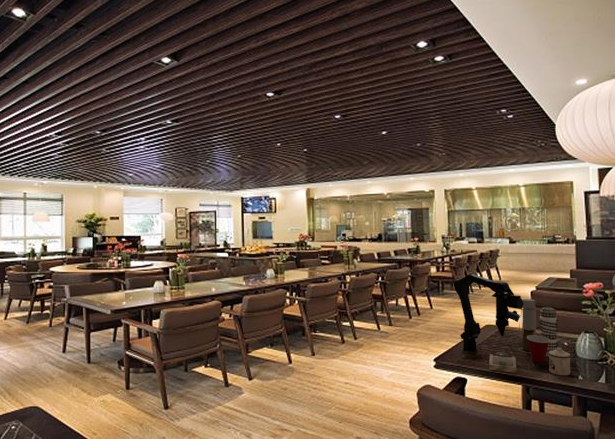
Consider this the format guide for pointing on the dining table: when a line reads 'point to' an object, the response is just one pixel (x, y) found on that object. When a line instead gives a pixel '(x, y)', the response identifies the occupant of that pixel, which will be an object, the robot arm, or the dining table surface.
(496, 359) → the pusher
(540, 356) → the plastic cup
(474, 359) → the dining table surface
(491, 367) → the tan piece
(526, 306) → the water bottle
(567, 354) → the teacup with lid
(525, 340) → the condiment
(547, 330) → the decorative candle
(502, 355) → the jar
